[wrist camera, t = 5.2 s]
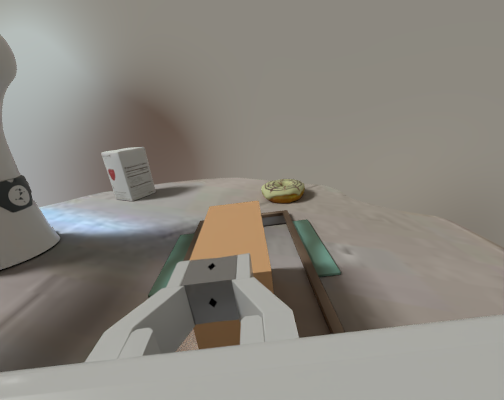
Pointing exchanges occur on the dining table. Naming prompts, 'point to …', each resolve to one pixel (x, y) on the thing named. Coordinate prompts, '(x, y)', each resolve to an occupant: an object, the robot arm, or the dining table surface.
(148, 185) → the supplement box
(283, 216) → the trap lane
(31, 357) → the dining table surface
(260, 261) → the orange block
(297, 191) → the decorated donut
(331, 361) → the robot arm
